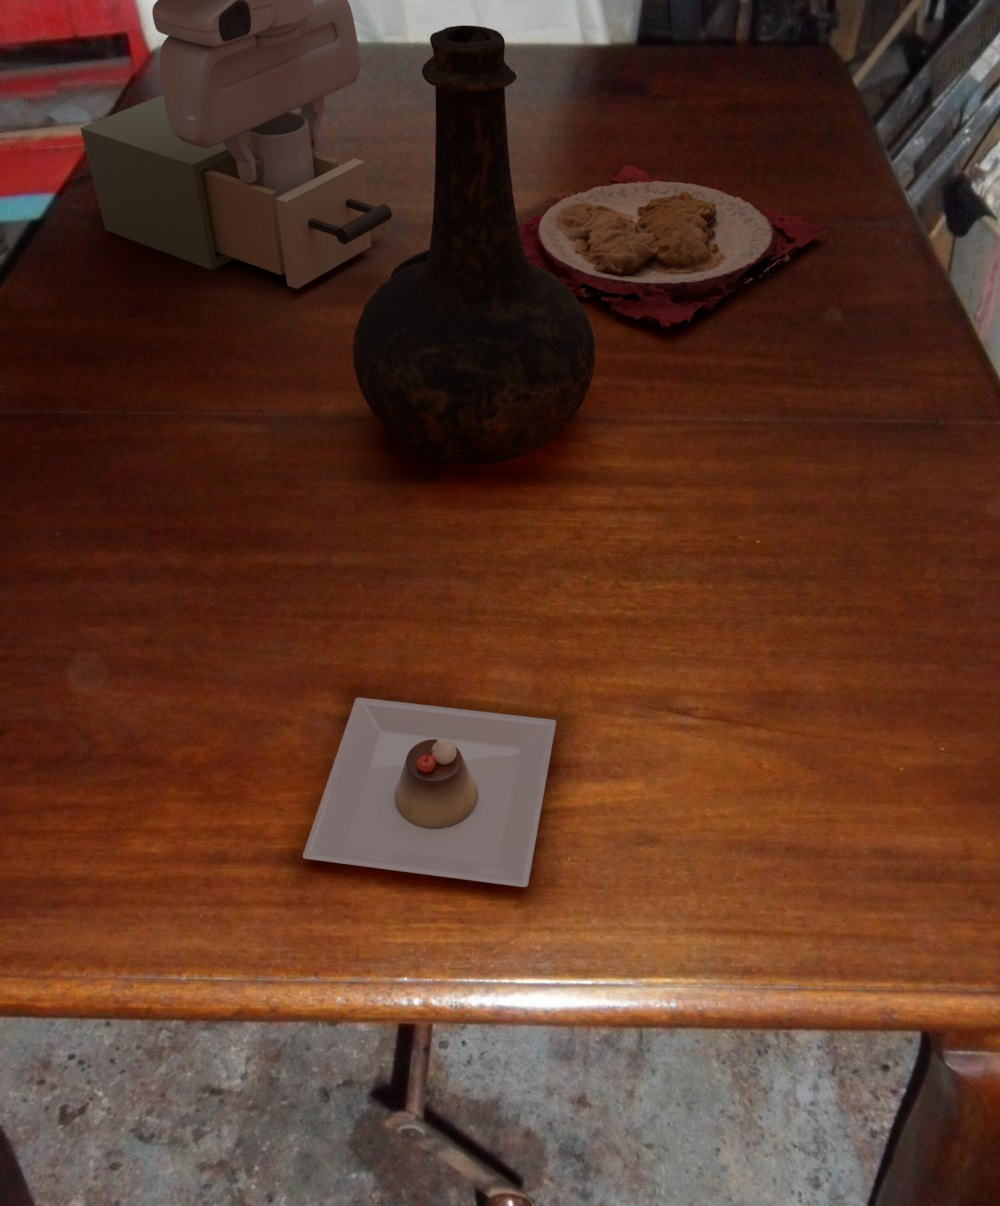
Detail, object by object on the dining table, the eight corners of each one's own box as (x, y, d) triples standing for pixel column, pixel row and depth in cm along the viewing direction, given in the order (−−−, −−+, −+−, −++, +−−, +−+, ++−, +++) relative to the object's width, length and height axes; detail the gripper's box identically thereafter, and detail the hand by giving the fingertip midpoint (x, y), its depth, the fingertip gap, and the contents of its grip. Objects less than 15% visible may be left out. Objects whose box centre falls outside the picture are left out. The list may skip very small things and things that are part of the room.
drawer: (410, 259, 110) (405, 173, 104) (336, 304, 104) (327, 215, 98) (266, 210, 117) (254, 127, 111) (189, 249, 111) (172, 164, 106)
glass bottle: (508, 349, 100) (509, -30, 80) (638, 449, 90) (677, 44, 70) (320, 412, 94) (269, 16, 73) (437, 528, 83) (416, 106, 63)
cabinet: (296, 226, 117) (283, 123, 110) (212, 270, 110) (192, 164, 103) (191, 189, 123) (172, 90, 116) (105, 230, 116) (79, 127, 109)
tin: (239, 196, 107) (227, 126, 102) (282, 175, 110) (273, 106, 105) (286, 212, 104) (276, 141, 100) (329, 190, 107) (321, 120, 103)
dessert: (304, 870, 63) (292, 814, 60) (357, 709, 71) (350, 651, 68) (527, 899, 62) (528, 843, 58) (555, 732, 70) (558, 674, 67)
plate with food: (824, 244, 114) (832, 208, 112) (669, 339, 101) (674, 300, 98) (627, 180, 125) (629, 146, 123) (462, 258, 112) (462, 221, 109)
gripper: (313, -48, 102) (330, 121, 112) (134, 14, 91) (171, 196, 101) (369, -35, 100) (382, 136, 110) (193, 29, 88) (224, 214, 98)
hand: (279, 165), depth 105 cm, fingers closed on tin, 6 cm apart
